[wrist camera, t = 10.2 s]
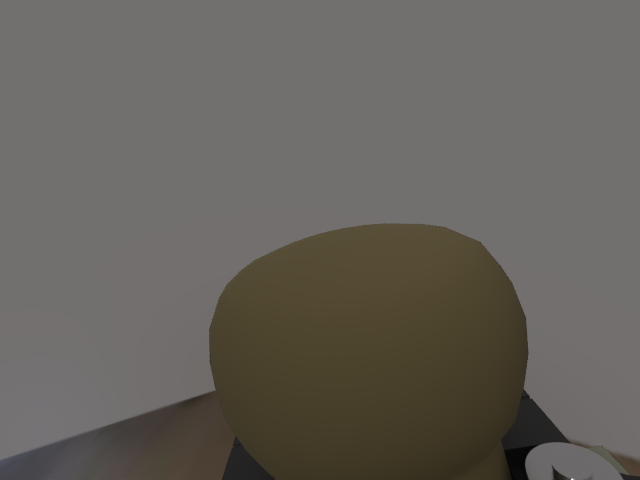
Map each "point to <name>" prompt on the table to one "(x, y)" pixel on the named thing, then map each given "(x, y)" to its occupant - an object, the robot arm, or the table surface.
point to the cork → (372, 356)
